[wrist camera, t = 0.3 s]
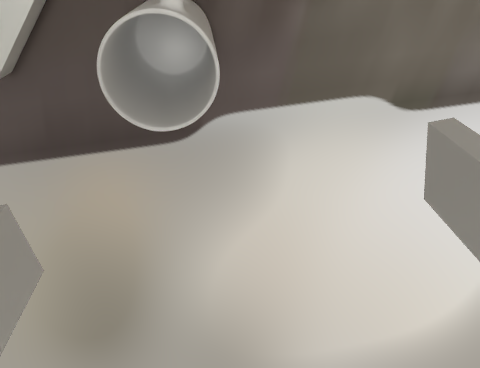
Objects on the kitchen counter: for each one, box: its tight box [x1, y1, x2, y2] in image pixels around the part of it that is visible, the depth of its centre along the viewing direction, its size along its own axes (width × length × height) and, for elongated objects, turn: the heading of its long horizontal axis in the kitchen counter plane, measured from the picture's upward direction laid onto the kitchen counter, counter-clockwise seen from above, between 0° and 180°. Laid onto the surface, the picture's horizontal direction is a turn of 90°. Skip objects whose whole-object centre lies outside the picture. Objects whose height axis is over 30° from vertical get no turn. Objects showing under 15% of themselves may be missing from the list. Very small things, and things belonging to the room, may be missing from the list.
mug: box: [97, 0, 220, 131], centre depth 27 cm, size 10×7×12 cm, turn 165°
